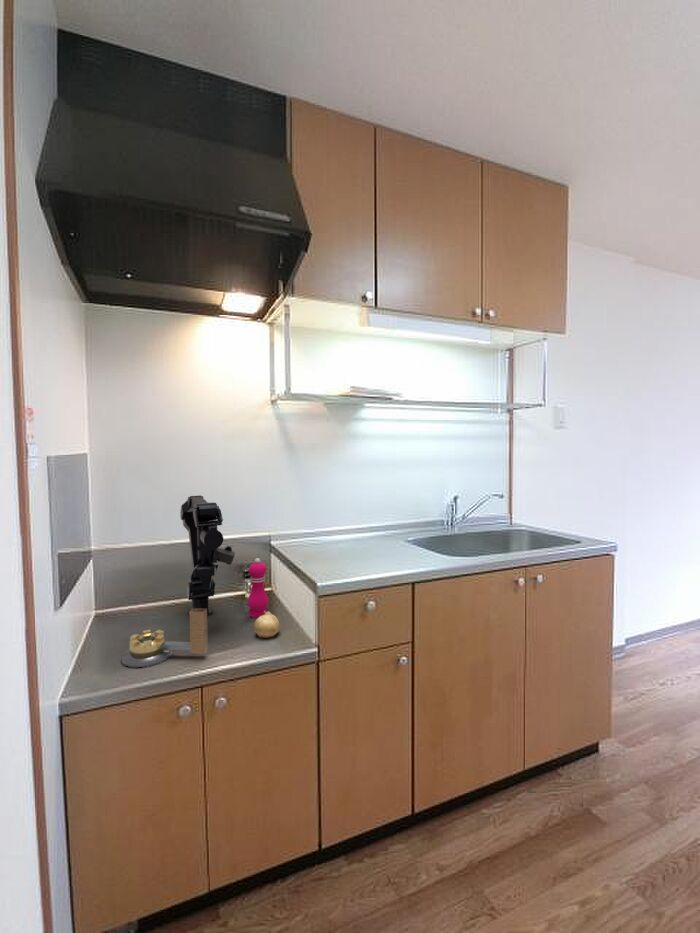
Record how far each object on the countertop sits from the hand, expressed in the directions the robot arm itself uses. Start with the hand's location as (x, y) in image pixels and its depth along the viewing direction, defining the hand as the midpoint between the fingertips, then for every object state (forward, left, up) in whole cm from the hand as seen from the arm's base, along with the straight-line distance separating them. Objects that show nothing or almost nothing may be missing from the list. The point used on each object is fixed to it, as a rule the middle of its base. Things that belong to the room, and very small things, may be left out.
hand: (208, 589), depth 141 cm
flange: (+5, -20, -13) cm, 25 cm away
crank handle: (+10, -16, -11) cm, 22 cm away
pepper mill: (0, +18, -13) cm, 22 cm away
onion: (+16, +12, -13) cm, 24 cm away
